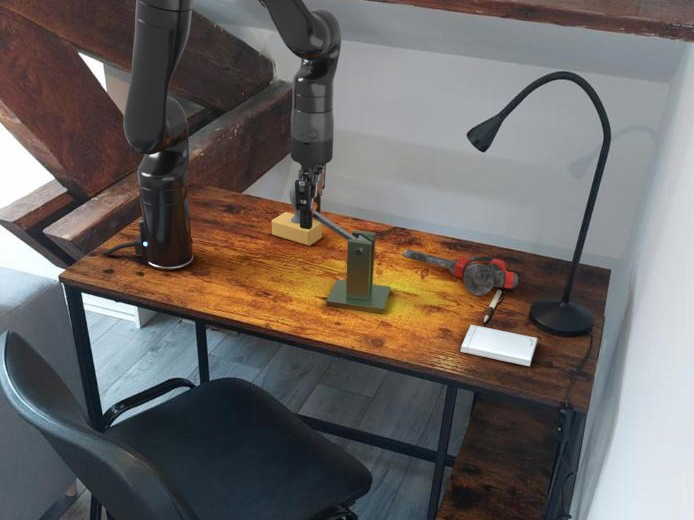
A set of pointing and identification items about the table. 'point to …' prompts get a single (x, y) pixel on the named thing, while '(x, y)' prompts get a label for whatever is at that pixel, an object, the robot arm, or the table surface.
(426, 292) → the table surface
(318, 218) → the lever
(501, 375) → the table surface
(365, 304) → the bracket
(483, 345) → the hard drive
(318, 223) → the rubber stamp
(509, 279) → the valve
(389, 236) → the table surface
